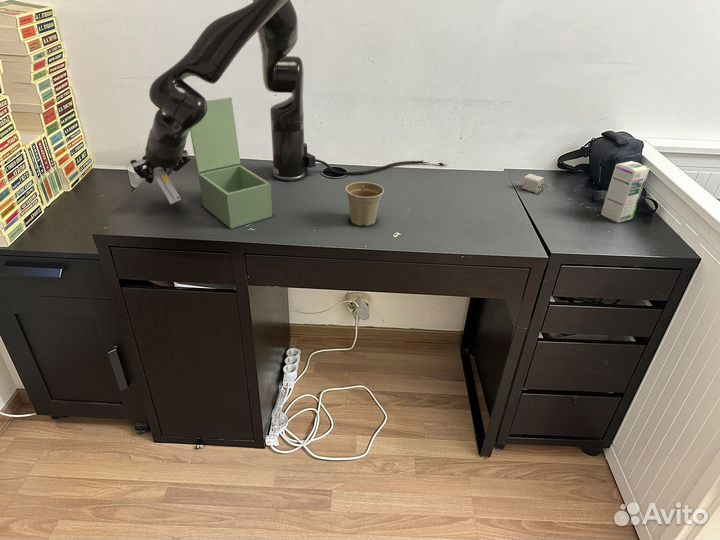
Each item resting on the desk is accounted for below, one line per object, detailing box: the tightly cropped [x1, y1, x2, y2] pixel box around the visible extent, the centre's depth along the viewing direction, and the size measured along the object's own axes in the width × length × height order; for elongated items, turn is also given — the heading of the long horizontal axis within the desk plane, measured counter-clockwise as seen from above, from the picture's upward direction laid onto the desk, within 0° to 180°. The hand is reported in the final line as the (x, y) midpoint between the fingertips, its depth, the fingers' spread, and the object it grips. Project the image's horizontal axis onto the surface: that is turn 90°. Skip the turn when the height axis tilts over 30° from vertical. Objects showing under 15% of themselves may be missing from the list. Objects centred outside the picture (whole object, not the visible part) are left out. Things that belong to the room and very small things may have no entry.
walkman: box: [154, 168, 182, 205], centre depth 124 cm, size 8×3×12 cm, turn 23°
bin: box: [197, 164, 273, 229], centre depth 126 cm, size 16×12×9 cm
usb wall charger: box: [521, 173, 551, 194], centre depth 146 cm, size 4×7×4 cm, turn 49°
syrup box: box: [600, 160, 651, 224], centre depth 130 cm, size 6×6×14 cm
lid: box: [189, 97, 241, 173], centre depth 127 cm, size 16×12×6 cm
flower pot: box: [344, 181, 385, 227], centre depth 124 cm, size 9×9×9 cm
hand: (155, 178), depth 124 cm, fingers closed on walkman, 2 cm apart
